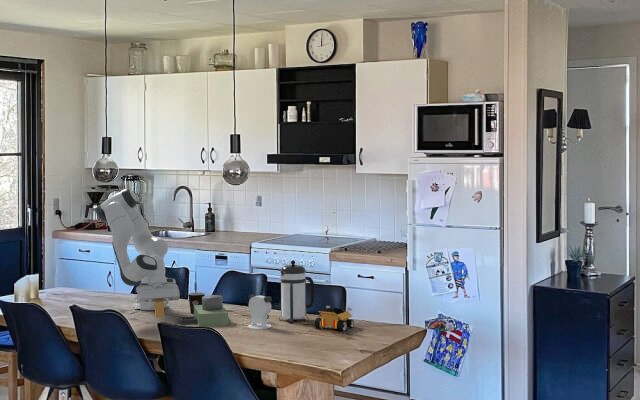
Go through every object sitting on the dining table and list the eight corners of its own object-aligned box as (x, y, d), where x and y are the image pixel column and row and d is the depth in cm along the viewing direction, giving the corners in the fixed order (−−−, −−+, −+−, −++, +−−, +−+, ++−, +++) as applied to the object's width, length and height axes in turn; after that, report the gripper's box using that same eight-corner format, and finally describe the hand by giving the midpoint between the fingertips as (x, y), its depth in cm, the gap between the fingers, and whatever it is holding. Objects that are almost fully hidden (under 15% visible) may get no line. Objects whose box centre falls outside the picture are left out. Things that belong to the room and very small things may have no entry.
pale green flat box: (178, 318, 424) (177, 294, 423) (221, 315, 430) (221, 292, 429) (182, 327, 401) (182, 302, 400) (228, 324, 406) (227, 300, 406)
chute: (155, 316, 404) (154, 299, 403) (163, 315, 405) (163, 299, 404) (155, 317, 400) (155, 301, 399) (164, 317, 401) (163, 300, 400)
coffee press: (307, 323, 407) (306, 262, 405) (275, 322, 410) (274, 261, 408) (314, 316, 424) (314, 258, 422) (283, 316, 427) (283, 257, 425)
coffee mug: (185, 313, 436) (184, 294, 436) (195, 310, 444) (194, 291, 443) (203, 315, 431) (203, 296, 430) (213, 312, 438) (212, 293, 438)
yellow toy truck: (355, 327, 399) (355, 305, 399) (340, 333, 386) (340, 310, 386) (328, 324, 407) (328, 302, 406) (312, 329, 394) (312, 307, 393)
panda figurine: (277, 326, 403) (276, 295, 402) (262, 330, 393) (262, 298, 392) (257, 323, 409) (257, 292, 408) (242, 327, 400) (242, 296, 399)
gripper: (135, 281, 405) (137, 305, 396) (178, 279, 410) (180, 302, 402) (135, 289, 410) (137, 312, 401) (177, 286, 415) (180, 309, 406)
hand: (159, 307), depth 401 cm, fingers closed on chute, 4 cm apart
